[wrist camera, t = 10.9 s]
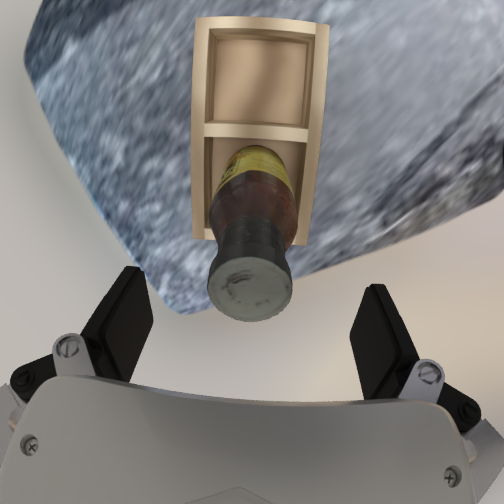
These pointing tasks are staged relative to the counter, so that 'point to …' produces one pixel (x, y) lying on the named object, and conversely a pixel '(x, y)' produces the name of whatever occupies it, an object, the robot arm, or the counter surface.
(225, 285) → the sauce bottle
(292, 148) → the rail
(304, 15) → the counter surface
